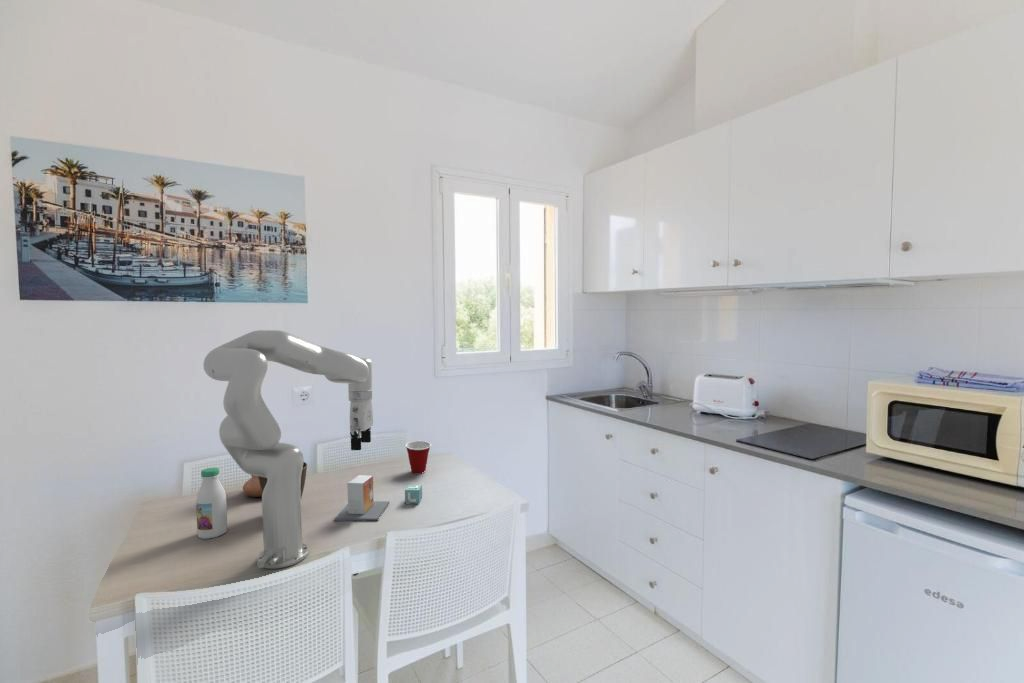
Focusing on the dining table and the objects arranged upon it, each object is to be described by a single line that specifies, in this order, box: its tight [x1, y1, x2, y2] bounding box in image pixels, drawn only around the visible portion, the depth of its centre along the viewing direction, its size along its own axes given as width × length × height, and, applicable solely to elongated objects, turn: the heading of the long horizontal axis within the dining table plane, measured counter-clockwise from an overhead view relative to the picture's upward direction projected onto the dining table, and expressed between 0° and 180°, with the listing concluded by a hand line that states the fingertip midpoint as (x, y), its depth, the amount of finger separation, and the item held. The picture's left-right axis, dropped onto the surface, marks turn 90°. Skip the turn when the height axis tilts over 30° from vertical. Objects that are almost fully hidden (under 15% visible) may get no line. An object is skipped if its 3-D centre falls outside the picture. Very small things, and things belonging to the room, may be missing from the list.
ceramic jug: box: [242, 475, 262, 498], centre depth 177 cm, size 18×14×14 cm
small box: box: [347, 474, 374, 514], centre depth 159 cm, size 8×6×10 cm
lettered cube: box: [404, 484, 423, 504], centre depth 168 cm, size 5×5×5 cm
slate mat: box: [334, 500, 390, 522], centre depth 159 cm, size 14×14×1 cm
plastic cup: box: [405, 440, 432, 474], centre depth 200 cm, size 11×11×12 cm
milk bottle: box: [195, 467, 228, 540], centre depth 143 cm, size 8×8×20 cm
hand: (361, 446), depth 158 cm, fingers open, 9 cm apart
